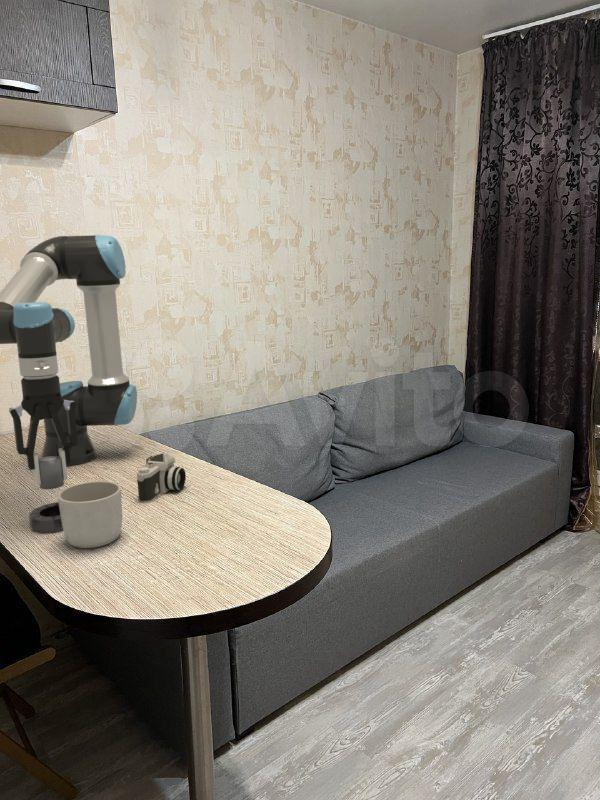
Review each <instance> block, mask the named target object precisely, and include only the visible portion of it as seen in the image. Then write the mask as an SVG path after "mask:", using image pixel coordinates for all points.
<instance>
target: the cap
mask: <svg viewBox="0 0 600 800" xmlns="http://www.w3.org/2000/svg"><path fill="white" fill-rule="evenodd" d="M38 462H39V471H40V480H41V484H40V485H39V489H42V490H54V489H58V488H61V487H64V485H65V480H64V479H63V470H62V460H61V457H60V456H48V457H43V458H42V457H40V458H38Z"/></svg>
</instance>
